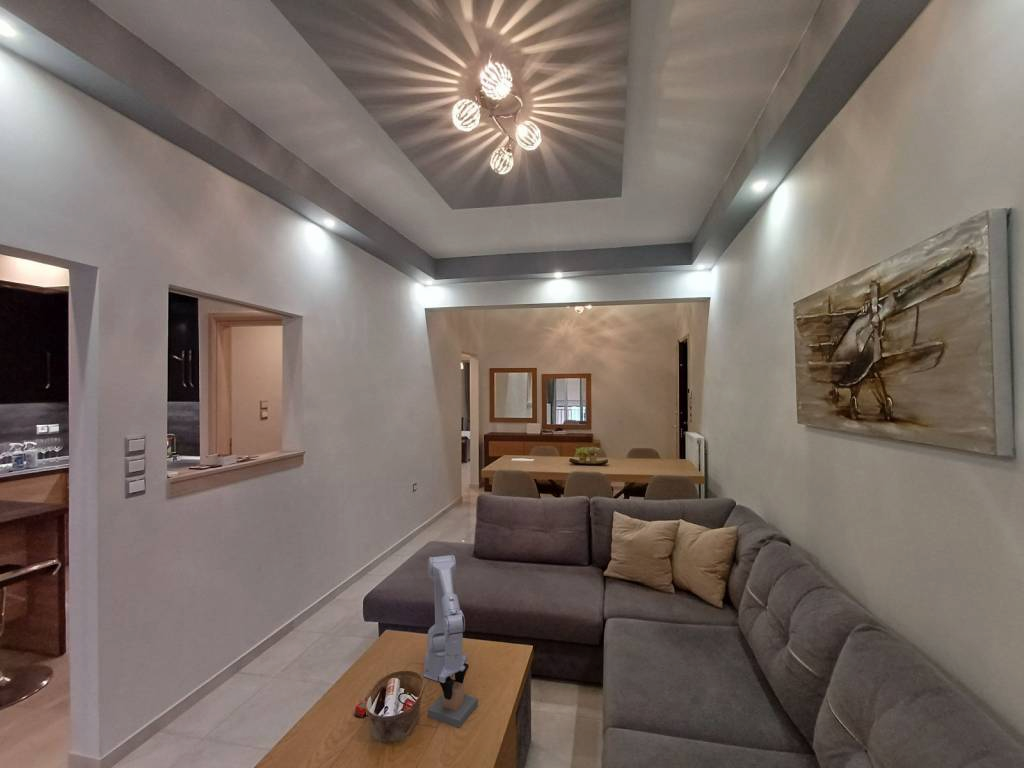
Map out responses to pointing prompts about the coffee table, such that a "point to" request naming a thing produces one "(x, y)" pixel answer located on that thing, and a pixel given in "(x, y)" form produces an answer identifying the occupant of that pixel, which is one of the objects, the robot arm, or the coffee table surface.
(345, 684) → the coffee table surface
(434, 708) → the charcoal flat pad
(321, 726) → the coffee table surface
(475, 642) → the coffee table surface
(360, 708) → the race car
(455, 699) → the terracotta block
